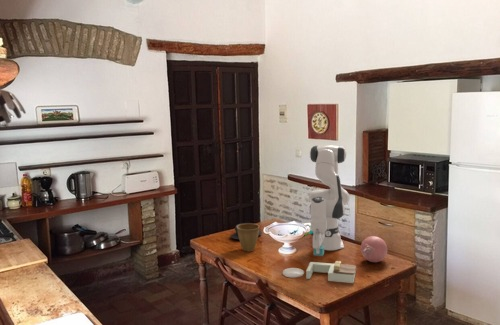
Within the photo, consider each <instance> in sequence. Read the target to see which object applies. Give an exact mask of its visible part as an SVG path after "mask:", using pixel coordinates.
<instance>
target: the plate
mask: <svg viewBox="0 0 500 325" xmlns="http://www.w3.org/2000/svg"><path fill="white" fill-rule="evenodd" d="M282 275H283V276H284V277H287V278H291V279H297V278H301V277H303V276H304V275H305V271H304V270H303V269H301V268H297V267H288V268H285V269H283V270H282Z"/></svg>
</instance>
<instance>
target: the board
mask: <svg viewBox="0 0 500 325" xmlns="http://www.w3.org/2000/svg"><path fill="white" fill-rule="evenodd" d="M334 264H335V263H329V262H327V263H326V262H316V261H310V262H309V263H308V266H307V268H306V271H305V275H306V276H305V278H306V280H310V279H311V277H312V275H313V273H314V272H316V273H327V281H328V282H337V283H348V284H349V283H350V284H354V282H355V277H356V270H357V268H356V269H355V274H354V275H353V274H341V273H333V271H334ZM341 264H342V263H341ZM342 265H344V264H342ZM354 266H356V265H354ZM356 267H357V266H356Z"/></svg>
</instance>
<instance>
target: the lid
mask: <svg viewBox="0 0 500 325" xmlns="http://www.w3.org/2000/svg"><path fill="white" fill-rule="evenodd" d="M333 264H334V271H333V273H341V274H353V275H354V274H355V275H356V273H355V269H356V270H357V266H354V265H353V264H343V265H342V261H341V260H335V262H334V263H333Z"/></svg>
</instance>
